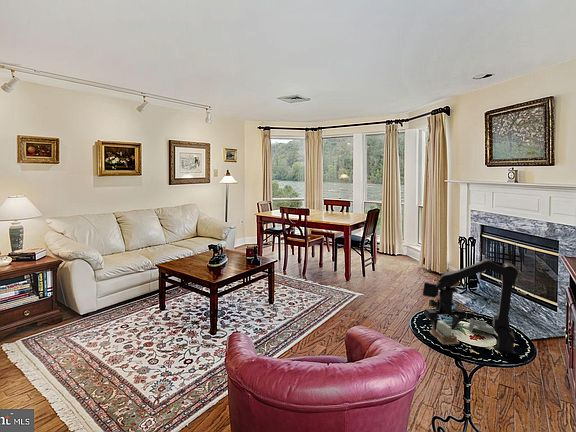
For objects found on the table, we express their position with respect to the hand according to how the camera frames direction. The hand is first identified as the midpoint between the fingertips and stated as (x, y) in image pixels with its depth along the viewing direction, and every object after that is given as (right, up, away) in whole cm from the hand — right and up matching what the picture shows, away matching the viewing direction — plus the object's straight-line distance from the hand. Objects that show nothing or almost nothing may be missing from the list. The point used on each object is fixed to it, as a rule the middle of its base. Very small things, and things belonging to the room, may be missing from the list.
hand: (443, 330), depth 166 cm
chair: (+12, -2, +20) cm, 23 cm away
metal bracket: (+24, -4, +9) cm, 25 cm away
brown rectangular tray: (0, -4, +1) cm, 4 cm away
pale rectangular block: (0, -3, +1) cm, 3 cm away
